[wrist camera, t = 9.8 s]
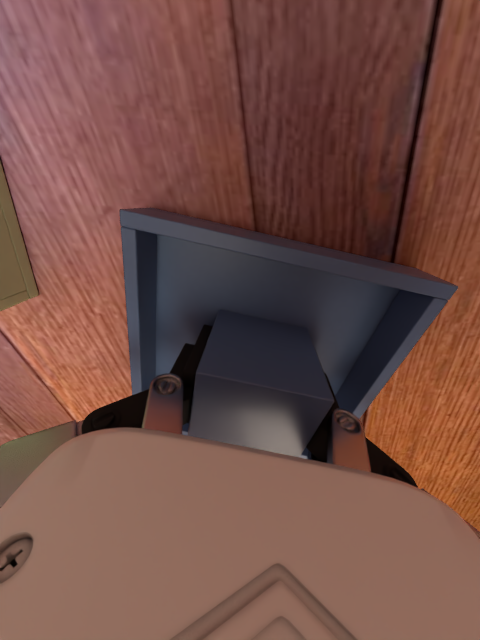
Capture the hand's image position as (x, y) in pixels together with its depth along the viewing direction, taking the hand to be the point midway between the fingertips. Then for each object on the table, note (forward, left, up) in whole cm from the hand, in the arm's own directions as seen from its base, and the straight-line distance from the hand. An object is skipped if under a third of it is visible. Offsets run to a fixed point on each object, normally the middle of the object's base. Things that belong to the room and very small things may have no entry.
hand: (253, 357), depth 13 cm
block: (0, 0, 0) cm, 0 cm away
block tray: (0, 0, -1) cm, 1 cm away
